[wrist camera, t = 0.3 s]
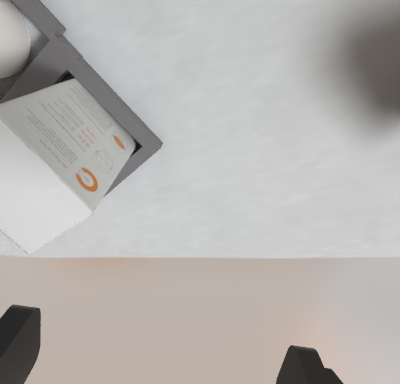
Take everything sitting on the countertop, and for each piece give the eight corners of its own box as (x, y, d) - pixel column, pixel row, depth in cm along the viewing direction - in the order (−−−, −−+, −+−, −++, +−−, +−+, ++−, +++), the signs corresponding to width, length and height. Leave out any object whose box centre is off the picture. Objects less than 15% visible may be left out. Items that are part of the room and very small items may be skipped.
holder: (-36, -81, 23) (-52, -88, 22) (168, 138, 30) (165, 143, 29) (-100, 26, 27) (-117, 26, 25) (96, 200, 34) (91, 207, 33)
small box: (34, 114, 30) (-79, 166, 18) (81, 73, 28) (-12, 103, 16) (93, 177, 33) (28, 258, 21) (139, 145, 31) (95, 213, 19)
